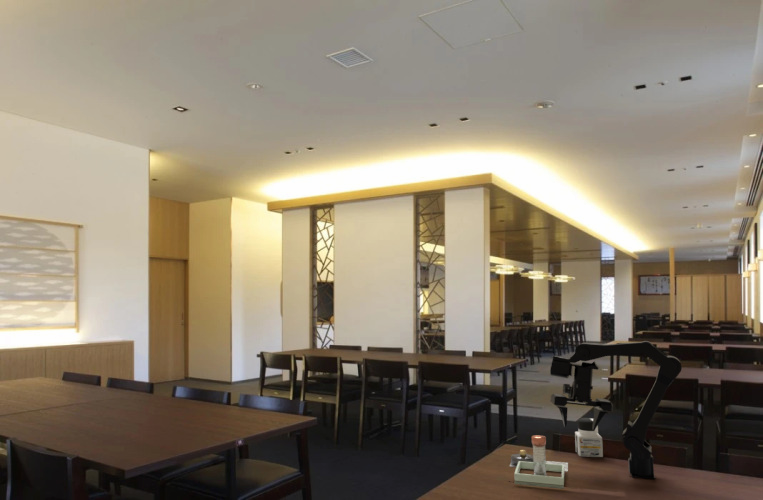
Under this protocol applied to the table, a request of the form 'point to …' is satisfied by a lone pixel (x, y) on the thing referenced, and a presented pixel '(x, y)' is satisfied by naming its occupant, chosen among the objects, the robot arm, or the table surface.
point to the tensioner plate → (531, 459)
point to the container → (588, 439)
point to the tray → (539, 478)
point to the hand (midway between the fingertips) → (579, 428)
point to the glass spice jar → (539, 454)
